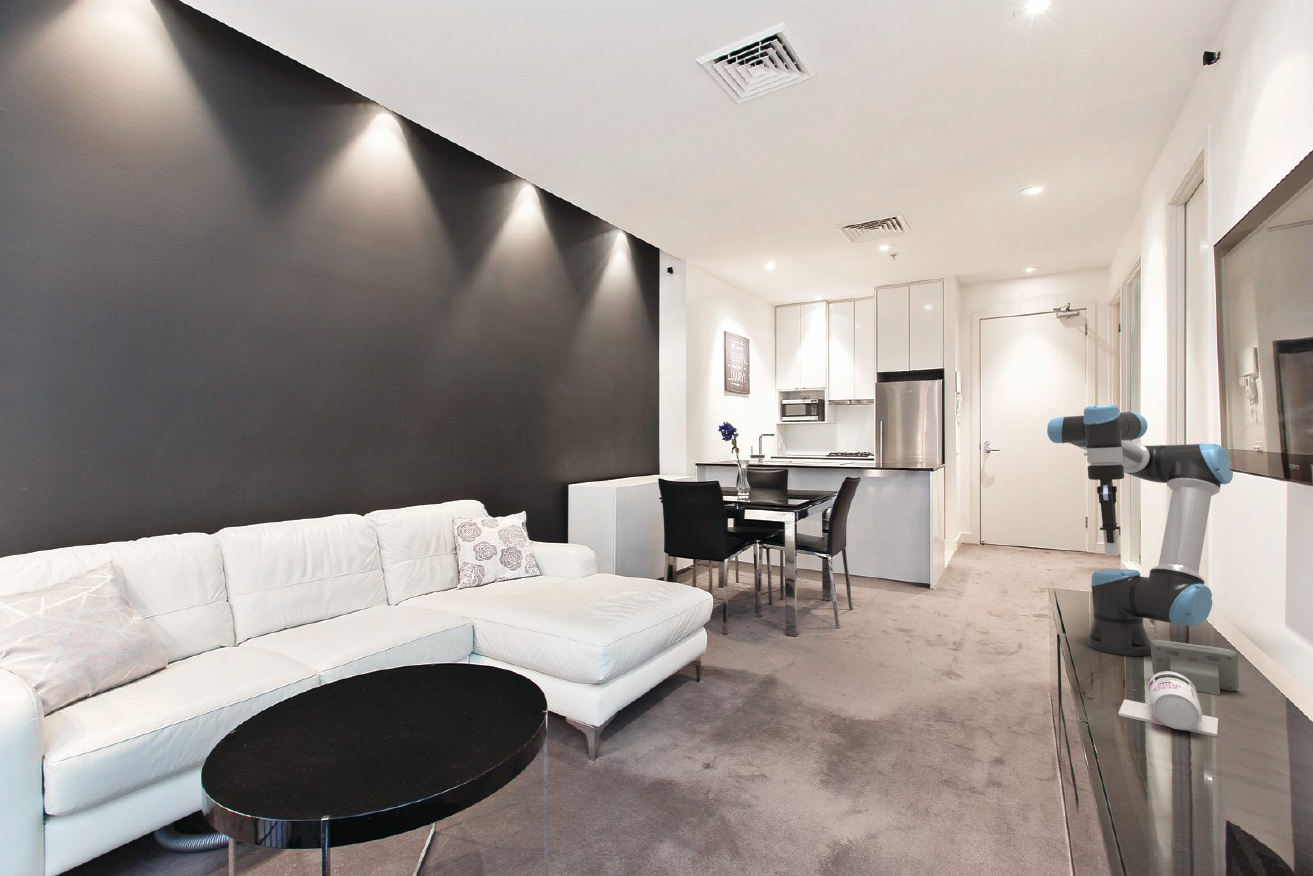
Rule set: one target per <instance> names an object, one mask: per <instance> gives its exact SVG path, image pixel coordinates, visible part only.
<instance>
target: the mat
mask: <svg viewBox="0 0 1313 876" xmlns="http://www.w3.org/2000/svg"><path fill="white" fill-rule="evenodd" d="M1117 716H1118V717H1124V718H1127V719H1132V720H1136V721H1141V722H1145V723H1149V724H1150V723H1151V724H1155V725H1160V726H1164V727H1169V726H1167V725H1164V724H1163V723H1162V722H1160V721H1159V720H1158V719H1157V718H1156V717H1155V715H1154V714H1153V712H1152V710H1151V706H1150V703H1144V702H1139V701H1135V700H1131V699H1130V700H1129V699H1126V698H1125V699H1123V701H1122V704H1121V706H1120V708H1119V710H1118V715H1117ZM1186 731H1187V732H1191V733H1197V734H1200V735H1206V736H1210V737H1215V738H1218V732H1219V718H1218V717H1214V716H1209V715H1204V714H1202V720H1201V722H1200V723H1199V724H1198V725H1197V726H1196V727H1194V728H1192V729H1187V730H1186Z"/></svg>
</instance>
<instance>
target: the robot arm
mask: <svg viewBox="0 0 1313 876" xmlns="http://www.w3.org/2000/svg"><path fill="white" fill-rule="evenodd" d="M1148 426H1149V425H1148V421H1147V419H1146V418H1145V417H1144V416H1143V415H1141V414H1140V413H1137V412H1132V411H1127V412H1126V411H1124V412H1120V407H1119V406H1118V405H1117V404H1100V405H1099V404H1098V405H1090V406H1086V407H1085V408H1084V410H1083V415H1074V416H1061V417H1055V418H1052V419H1050V421H1049V422H1048V424H1047V429H1046V433H1047V436H1048V438H1049V440H1050V441H1051V443H1055V444H1071V445H1073V446H1075V447H1078V448H1080V449H1082V450H1084V452H1083V456H1086V461H1087V463H1088V464H1089V465H1088V466H1087V478H1088V479H1089V480H1094V481H1099V485H1098V486H1097V487H1096V493H1097V494H1098V503H1099V504H1100V511H1101V513H1100V514H1101V521H1102V525H1101V527H1099V531H1103V543H1104V555H1105V556H1114V557H1115V556H1116V557H1119V556H1120V555H1119V554H1120V553H1119V543H1118V542H1119V541H1118V540H1119V539H1118V530H1120V529H1121V528H1120V526H1117V524H1118V523H1117V513H1116V512H1117V511H1116V503H1117V492H1118V488H1117V485H1115V486H1114V482H1113V480H1123V479H1124V478H1125V474H1127V475H1130V476H1133V477H1135V478H1139V479H1142V480H1145V481H1149V482H1152V483H1153V482H1154V483H1159V484H1166V486H1167V487H1168V488H1169V490H1171V495H1170V501H1169V505H1168V506H1169V507H1168V510H1167V511H1168V513H1167V516H1166V517H1167V518H1166V522H1165V528H1164V532H1163V533H1164V534H1163V537H1162V538H1163V539H1162V544H1161V549H1160V556H1159V560H1158V565H1157V566H1154V567H1152V568H1151V569H1150V571H1149V575H1148V576H1141V575H1142V574H1141V572H1140V570H1137V569H1129V568H1128V569H1125V568H1124V569H1105V570H1104V569H1102V570H1097V571H1094V572H1093V573H1092V575H1091V585H1090V587H1091V596H1092V597H1091V598H1092V611H1093V612H1092V614H1093V622H1092V624H1091V627H1090V629H1089V633H1088V635H1087V644H1088V646H1089V647H1091V648H1092V649H1094V650H1097V651H1100V652H1102V653H1103V652H1104V653H1107V654H1108V653H1109V654H1114V655H1119V656H1127V657H1128V656H1130V657H1144V656H1151V640H1150V637H1149V636H1148V633H1147V631H1146V629H1145V626H1144V622H1143V621H1144V620H1143V619H1146V620H1147V619H1149V620H1153V621H1159V622H1163V623H1169V624H1172V625H1176V626H1187V627H1197V626H1200V625H1201V624H1203V623H1204V622H1205V621H1206V620H1207V618H1208V617H1209V615H1210V613H1211V611H1212V607H1213V599H1212V598H1213V593H1212V591H1211V589H1210V587H1208V586H1207V585H1206V584H1205V579H1204V578H1203V577H1202V576H1201V575H1200V574H1199V573H1200V572H1199V571H1200V566H1201V560H1202V555H1203V548H1204V542H1205V536H1206V531H1207V526H1208V525H1207V524H1208V518H1209V513H1210V507H1211V506H1210V505H1211V500H1212V496H1214V495H1217V494H1219V493H1220V491H1221V486H1222V485H1227V484H1230V483H1231V481H1232V480H1233V477H1234V470H1233V471H1232V470H1230V469H1229V468H1231V463H1232V460H1231V458H1230V455H1229V454H1228V452H1227V450H1226V448H1225V447H1223V446H1222V445H1220V444H1217V443H1203V442H1200V443H1196V444H1195V443H1194V444H1192V443H1189V444H1166V445H1165V444H1164V445H1162V444H1161V445H1157V444H1156V445H1144V444H1142V443H1138V442H1131V441H1133V440H1137V439H1140V438H1142V437H1143V436H1144V435H1145V434H1146V432H1147V430H1148ZM1129 441H1130V442H1129Z"/></svg>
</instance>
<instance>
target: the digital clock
mask: <svg viewBox="0 0 1313 876" xmlns="http://www.w3.org/2000/svg"><path fill="white" fill-rule="evenodd" d="M1150 642H1151V654H1150V656H1151V664H1152V675H1155V674H1157V673H1159V672H1164V671H1170V672H1176V673H1178V674H1181V675H1183V676H1185V677H1186V678H1187V679H1189V680H1190V681H1191V682H1192V684H1193V685H1194V686H1195V688H1196V692H1197V691H1199V692H1198V693H1203V692H1204V693H1203V694H1205V693H1206V694H1211V695H1216V696H1221V690H1225V691H1230V692H1231V691H1233V692H1234V691H1235V692H1236V691H1238V689H1239V688H1240V684H1239V683H1240V682H1239V678H1240V677H1239V661H1238V660H1239V659H1238V657H1239V656H1238V653H1237V651H1235V650H1233V649H1228V648H1221V647H1215V646H1208V645H1199V644H1194V643H1192V644H1191V643H1185V642H1177V641H1169V640H1161V639H1154V640H1150Z"/></svg>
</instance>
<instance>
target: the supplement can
mask: <svg viewBox="0 0 1313 876" xmlns="http://www.w3.org/2000/svg"><path fill="white" fill-rule="evenodd" d="M1148 695H1149V704H1150V706H1151V710H1152V712H1153V714H1154V715H1155V717H1156V718H1157V719H1158V720H1159V721H1160V722H1162V723H1163V724H1164V725H1167V726H1166V727H1168V726H1169V727H1170V728H1171V729H1175V730H1180V731H1187V729H1192V728H1194V727H1196V726H1197V725H1198V724H1199V723H1200V722H1201V720H1202V715H1203V710H1202V707H1201V704H1200V700H1199V696H1198V692H1197V691H1196V688H1195V686H1194V685H1193V684H1192V682H1191V681H1190V680H1189V679H1187V678H1186V677H1185V676H1183V675H1181V674H1178V673H1176V672H1170V671H1164V672H1159V673H1157V674H1155V675H1154V674H1152V676H1151V678H1150V679H1149V682H1148Z"/></svg>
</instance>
